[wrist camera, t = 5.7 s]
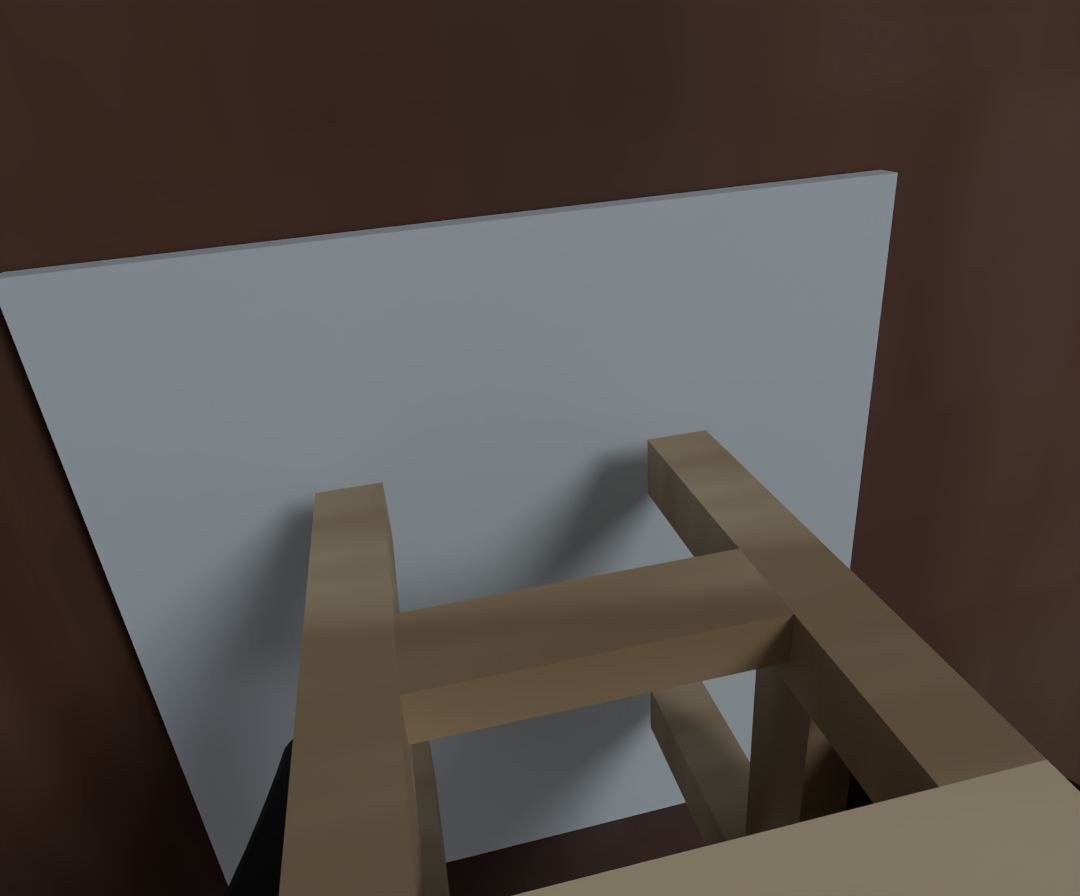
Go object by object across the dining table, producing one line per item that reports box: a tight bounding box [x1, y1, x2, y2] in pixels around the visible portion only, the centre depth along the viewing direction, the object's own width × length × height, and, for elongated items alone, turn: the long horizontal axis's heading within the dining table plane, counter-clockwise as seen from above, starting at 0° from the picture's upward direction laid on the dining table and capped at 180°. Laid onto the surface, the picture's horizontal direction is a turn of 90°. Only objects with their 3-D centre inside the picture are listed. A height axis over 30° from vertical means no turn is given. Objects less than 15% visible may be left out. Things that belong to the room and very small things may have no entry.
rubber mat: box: [0, 170, 898, 886], centre depth 13 cm, size 12×12×1 cm
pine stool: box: [279, 430, 1080, 896], centre depth 9 cm, size 6×6×8 cm
